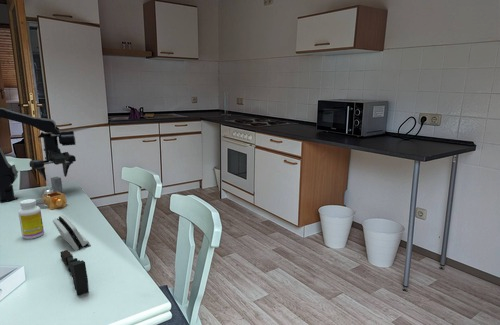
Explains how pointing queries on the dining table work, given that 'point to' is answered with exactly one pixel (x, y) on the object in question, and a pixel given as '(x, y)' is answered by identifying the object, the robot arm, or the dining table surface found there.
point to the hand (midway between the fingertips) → (55, 178)
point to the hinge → (70, 232)
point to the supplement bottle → (30, 219)
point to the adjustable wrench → (76, 272)
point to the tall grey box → (56, 184)
